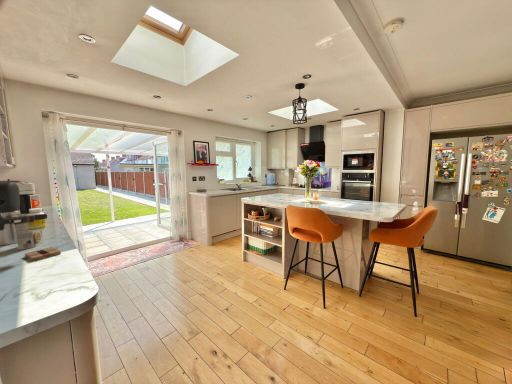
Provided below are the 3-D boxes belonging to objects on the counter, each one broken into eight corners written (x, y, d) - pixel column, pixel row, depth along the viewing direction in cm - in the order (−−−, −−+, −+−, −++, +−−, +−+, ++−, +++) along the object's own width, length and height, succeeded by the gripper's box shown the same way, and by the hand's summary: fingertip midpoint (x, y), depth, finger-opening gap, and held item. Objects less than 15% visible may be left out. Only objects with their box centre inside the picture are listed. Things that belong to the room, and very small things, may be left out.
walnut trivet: (25, 256, 92) (24, 253, 91) (52, 250, 99) (51, 247, 99) (33, 261, 86) (32, 258, 86) (60, 254, 94) (60, 250, 93)
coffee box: (28, 244, 109) (24, 214, 108) (44, 242, 112) (40, 213, 110) (17, 249, 101) (12, 217, 99) (35, 247, 104) (30, 216, 102)
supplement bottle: (30, 229, 92) (28, 208, 91) (47, 227, 95) (45, 207, 94) (27, 232, 88) (25, 210, 87) (45, 230, 91) (43, 208, 90)
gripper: (-15, 215, 75) (49, 208, 89) (-22, 212, 82) (38, 206, 96) (-12, 235, 75) (51, 225, 90) (-19, 230, 83) (40, 222, 97)
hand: (44, 215), depth 93 cm, fingers closed on supplement bottle, 5 cm apart
